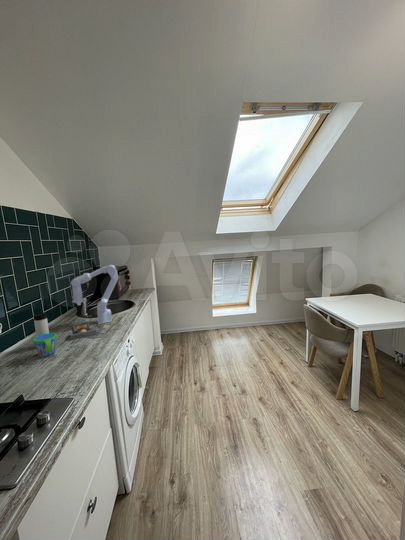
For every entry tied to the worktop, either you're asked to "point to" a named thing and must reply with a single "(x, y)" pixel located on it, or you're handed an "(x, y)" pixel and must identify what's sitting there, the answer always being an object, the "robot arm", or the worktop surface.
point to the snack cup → (45, 344)
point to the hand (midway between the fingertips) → (79, 312)
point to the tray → (83, 334)
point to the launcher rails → (75, 329)
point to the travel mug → (41, 324)
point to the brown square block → (82, 328)
